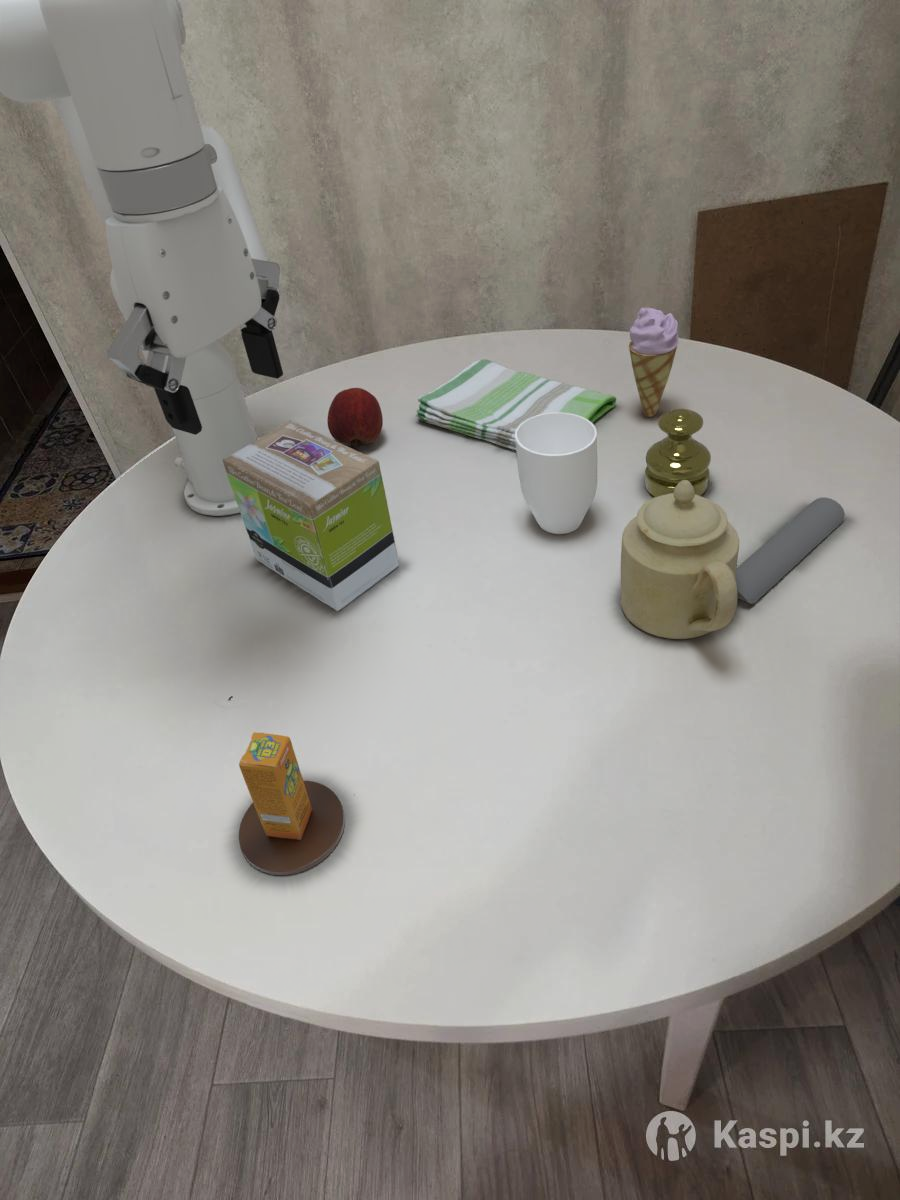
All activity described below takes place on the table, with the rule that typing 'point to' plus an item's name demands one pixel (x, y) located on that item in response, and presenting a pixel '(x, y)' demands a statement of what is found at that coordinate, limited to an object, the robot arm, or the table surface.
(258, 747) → the supplement box
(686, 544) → the sugar bowl
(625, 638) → the table surface
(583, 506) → the mug
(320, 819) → the coaster
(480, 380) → the dish towel
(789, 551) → the gray half cylinder
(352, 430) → the apple
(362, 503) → the tea box
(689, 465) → the brass weight
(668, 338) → the ice cream cone
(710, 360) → the table surface
